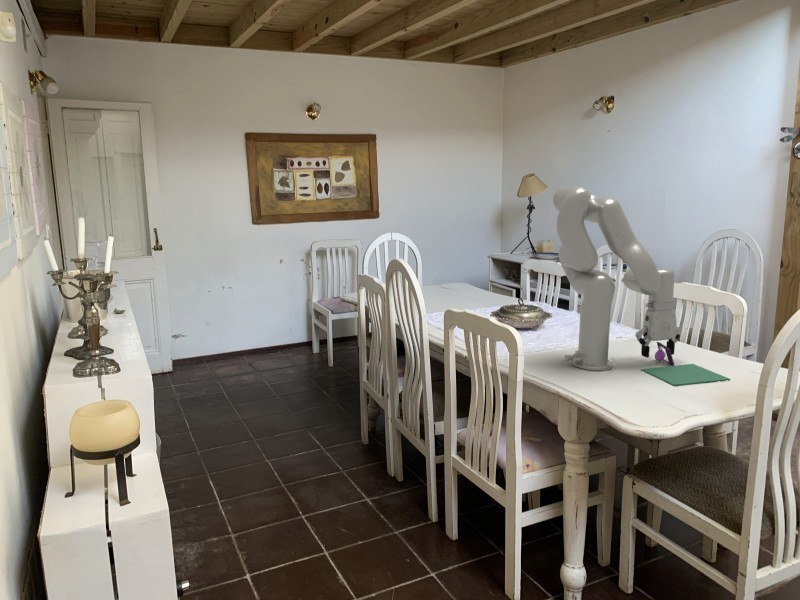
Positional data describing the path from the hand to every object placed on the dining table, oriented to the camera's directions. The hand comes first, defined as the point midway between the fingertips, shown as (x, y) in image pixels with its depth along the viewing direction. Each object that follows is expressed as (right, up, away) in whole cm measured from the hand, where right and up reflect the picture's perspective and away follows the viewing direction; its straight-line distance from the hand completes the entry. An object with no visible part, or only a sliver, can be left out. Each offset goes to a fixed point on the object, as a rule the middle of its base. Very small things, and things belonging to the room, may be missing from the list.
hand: (657, 355), depth 202 cm
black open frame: (+1, -3, 0) cm, 3 cm away
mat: (+3, -5, -13) cm, 14 cm away
